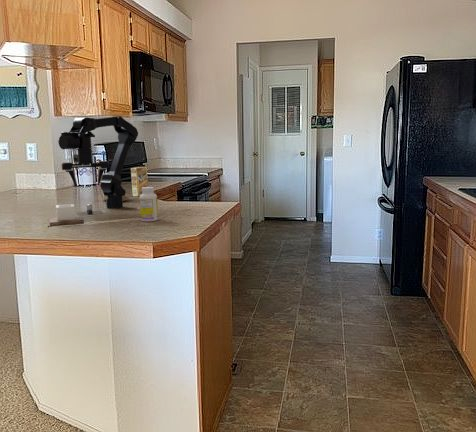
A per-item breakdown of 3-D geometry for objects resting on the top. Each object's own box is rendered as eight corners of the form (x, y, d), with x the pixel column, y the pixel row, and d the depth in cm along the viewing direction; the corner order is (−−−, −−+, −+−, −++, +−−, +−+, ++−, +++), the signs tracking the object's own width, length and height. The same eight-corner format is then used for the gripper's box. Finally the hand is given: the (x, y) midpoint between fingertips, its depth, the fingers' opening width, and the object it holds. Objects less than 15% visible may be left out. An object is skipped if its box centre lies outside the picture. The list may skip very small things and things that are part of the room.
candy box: (138, 196, 258) (136, 168, 256) (132, 196, 261) (130, 168, 258) (148, 194, 266) (147, 166, 263) (142, 194, 268) (141, 166, 265)
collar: (74, 216, 189) (73, 204, 188) (75, 219, 183) (74, 206, 182) (56, 218, 186) (55, 205, 185) (57, 220, 180) (56, 207, 180)
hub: (81, 218, 192) (80, 206, 192) (83, 223, 181) (82, 210, 181) (49, 221, 188) (48, 209, 187) (50, 226, 177) (48, 213, 176)
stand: (100, 212, 207) (100, 202, 206) (103, 216, 198) (103, 205, 197) (76, 214, 203) (75, 204, 202) (78, 218, 194) (77, 207, 193)
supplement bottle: (150, 218, 190) (149, 186, 188) (161, 219, 186) (160, 187, 184) (137, 220, 185) (135, 187, 183) (148, 222, 181) (146, 188, 179)
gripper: (105, 147, 209) (107, 183, 212) (59, 148, 202) (62, 185, 205) (108, 148, 199) (110, 185, 202) (60, 149, 192) (64, 188, 195)
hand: (87, 186), depth 201 cm, fingers open, 9 cm apart
